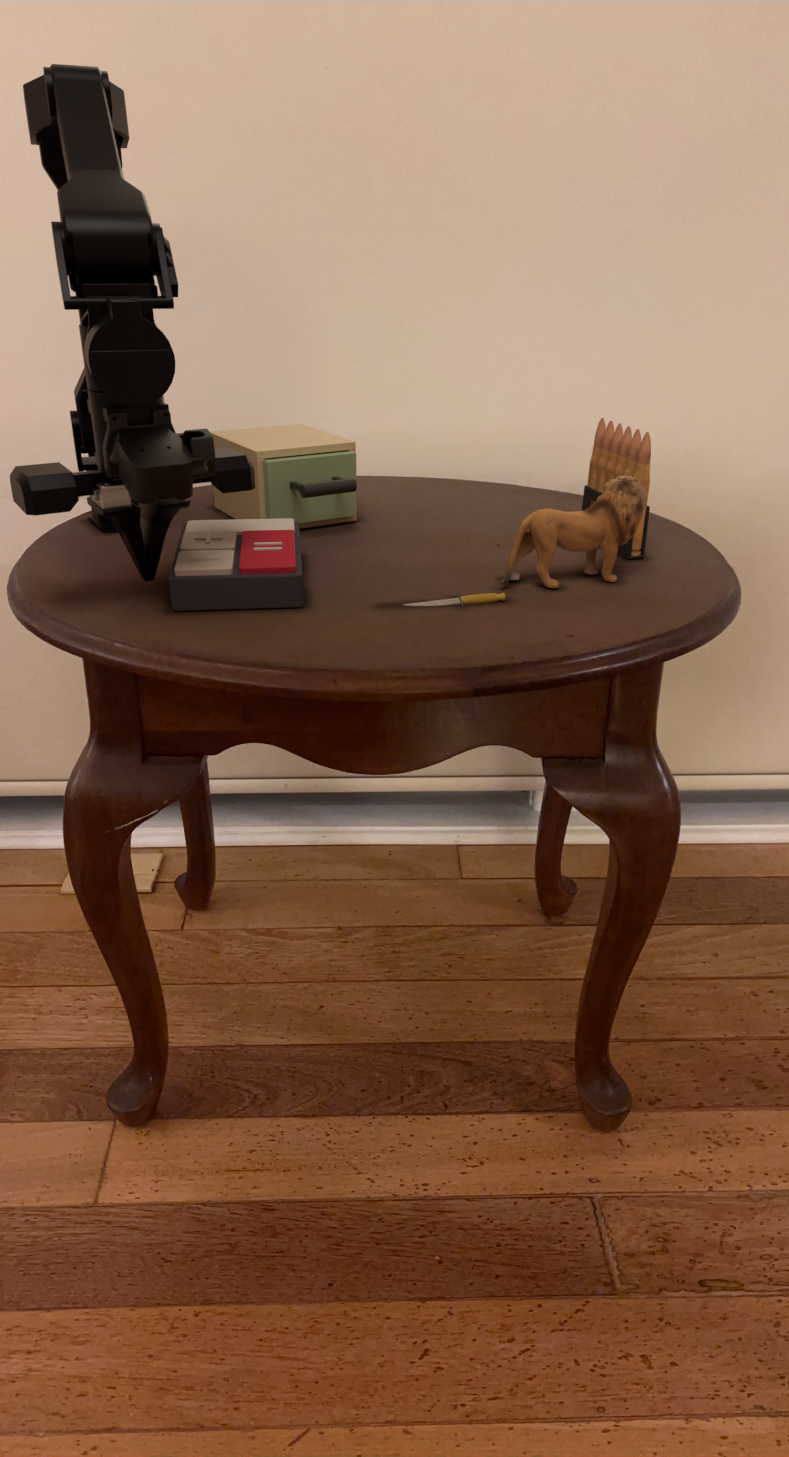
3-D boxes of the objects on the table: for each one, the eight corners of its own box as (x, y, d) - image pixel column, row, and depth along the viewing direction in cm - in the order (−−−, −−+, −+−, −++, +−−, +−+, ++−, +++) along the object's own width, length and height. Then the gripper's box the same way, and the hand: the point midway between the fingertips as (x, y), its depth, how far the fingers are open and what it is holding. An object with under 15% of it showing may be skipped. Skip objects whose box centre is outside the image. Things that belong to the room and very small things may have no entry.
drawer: (375, 523, 99) (375, 459, 96) (287, 536, 95) (284, 468, 91) (307, 493, 112) (305, 434, 109) (226, 503, 107) (221, 442, 104)
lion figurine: (614, 562, 90) (625, 468, 86) (650, 577, 86) (664, 479, 82) (485, 582, 85) (490, 482, 81) (517, 599, 80) (524, 495, 76)
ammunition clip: (644, 558, 92) (661, 432, 86) (628, 559, 91) (643, 433, 86) (593, 531, 101) (606, 415, 95) (578, 532, 100) (589, 416, 95)
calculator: (166, 569, 75) (182, 514, 88) (172, 618, 77) (187, 557, 90) (302, 566, 76) (298, 511, 89) (304, 614, 78) (300, 554, 91)
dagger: (385, 609, 78) (382, 597, 79) (386, 618, 78) (382, 606, 80) (509, 597, 79) (503, 586, 81) (508, 607, 80) (502, 595, 81)
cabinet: (356, 520, 104) (355, 441, 100) (261, 534, 99) (256, 451, 95) (303, 496, 114) (300, 423, 111) (214, 507, 109) (208, 431, 105)
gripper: (22, 410, 62) (58, 628, 69) (277, 393, 71) (286, 589, 78) (-8, 390, 71) (27, 587, 78) (223, 377, 79) (236, 555, 86)
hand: (148, 580), depth 80 cm, fingers closed
